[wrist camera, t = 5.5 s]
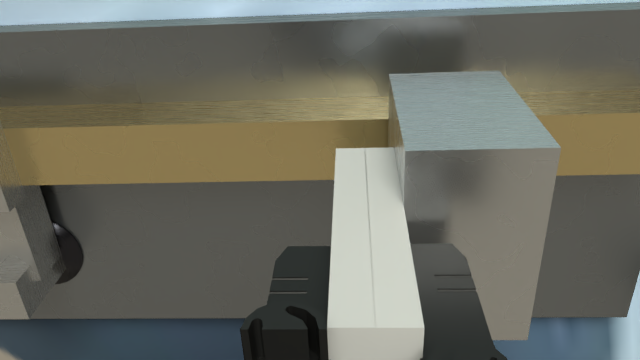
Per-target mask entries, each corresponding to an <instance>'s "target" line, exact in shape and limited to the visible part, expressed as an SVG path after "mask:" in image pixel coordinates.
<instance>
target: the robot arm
mask: <svg viewBox="0 0 640 360" xmlns="http://www.w3.org/2000/svg"><path fill="white" fill-rule="evenodd" d="M240 333H241V340H242V347H243V354H244V360H507V358H506V357H505V356H504V355H503V354H501V353H500V352H499V351H498V350H496V348H495V346H494V344H493V341H492V338H491V335H490V332H489V328H488V325H487V322H486V319H485V316H484V312H483V309H482V306H481V303H480V300H479V297H478V293H477V292H476V287H475V284H474V281H473V278H472V274H471V271H470V268H469V265H468V262H467V259H466V257H465V256H464V255H463V254H462V253H461V252H460V251H459V250H458V249H457V248H456V247H455V246H454V245H453V244H452V243H437V244H410V240H409V234H408V228H407V222H406V217H405V211H404V206H403V200H402V194H401V188H400V183H399V177H398V171H397V165H396V159H395V153H394V147H389V148H336V157H335V177H334V198H333V218H332V238H331V246H288V247H287V248H286V249H285V250H284V251H283V252H282V254H281V255H280V256H279V257H278V258H277V259H276V261H275V265H274V270H273V275H272V281H271V286H270V294H269V296H268V301H267V305H265V306H262V307H260V308H257V309H256V310H255V311H254V312H252V313H251V314H250V315H249V316H248V317H246V319H245V321H244V323H243V325H242V327H241V328H240Z"/></svg>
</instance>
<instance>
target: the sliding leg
mask: <svg viewBox="0 0 640 360" xmlns="http://www.w3.org/2000/svg"><path fill="white" fill-rule="evenodd" d="M389 147H394V153H395V159H396V165H397V171H398V177H399V183H400V188H401V194H402V200H403V206H404V211H405V217H406V222H407V228H408V234H409V240H410V244H437V243H452V244H453V245H454V246H455V247H456V248H457V249H458V250H459V251H460V252H461V253H462V254H463V255H464V256H465V257H466V259H467V262H468V265H469V268H470V271H471V274H472V278H473V281H474V284H475V287H476V292H477V293H478V297H479V300H480V303H481V306H482V309H483V312H484V316H485V319H486V322H487V325H488V328H489V332H490V335H491V338H492V340H527V339H528V334H529V328H530V322H531V317H532V311H533V305H534V300H535V294H536V288H537V282H538V277H539V271H540V265H541V260H542V254H543V248H544V243H545V237H546V231H547V226H548V220H549V214H550V209H551V203H552V197H553V191H554V186H555V180H556V174H557V169H558V163H559V157H560V152H561V147H560V145H559V144H558V143H557V142H556V141H555V139H554V138H553V137H552V136H551V134H550V133H549V132H548V131H547V129H546V128H545V127H544V126H543V124H542V123H541V122H540V121H539V119H538V118H537V117H536V116H535V114H534V113H533V112H532V111H531V109H530V108H529V107H528V106H527V104H526V103H525V102H524V101H523V99H522V98H521V97H520V96H519V94H518V93H517V92H516V91H515V89H514V88H513V87H512V86H511V84H510V83H509V82H508V81H507V80H506V78H505V77H504V76H503V75H502V73H501V72H500V71H471V72H438V73H404V74H389V109H388V148H389Z"/></svg>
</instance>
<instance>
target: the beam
mask: <svg viewBox="0 0 640 360" xmlns="http://www.w3.org/2000/svg"><path fill="white" fill-rule="evenodd" d="M518 94H519V96H520V97H521V98H522V99H523V101H524V102H525V103H526V104H527V106H528V107H529V108H530V109H531V111H532V112H533V113H534V114H535V116H536V117H537V118H538V119H539V121H540V122H541V123H542V124H543V126H544V127H545V128H546V129H547V131H548V132H549V133H550V134H551V136H552V137H553V138H554V139H555V141H556V142H557V143H558V144H559V145H560V147H561V152H560V157H559V163H558V169H557V174H556V176H566V175H620V174H640V89H627V90H591V91H555V92H518ZM388 109H389V96H373V97H337V98H301V99H264V100H228V101H192V102H156V103H119V104H83V105H47V106H10V107H0V319H30V317H31V316H32V315H33V313H34V312H35V311H36V309H37V308H38V306H39V305H40V304H41V302H42V301H43V300H44V298H45V297H46V296H47V294H48V293H49V291H50V290H51V289H52V287H53V286H54V285H55V283H56V282H57V281H58V279H59V278H60V276H61V275H62V274H63V272H64V271H65V270H66V266H65V263H64V260H63V257H62V254H61V251H60V248H59V245H58V241H57V238H56V235H55V232H54V229H53V226H52V223H51V220H50V217H49V214H48V211H47V208H46V204H45V201H44V198H43V195H42V192H41V189H40V186H39V185H75V184H130V183H184V182H239V181H293V180H334V177H335V157H336V148H388Z"/></svg>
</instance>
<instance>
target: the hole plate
mask: <svg viewBox="0 0 640 360" xmlns="http://www.w3.org/2000/svg"><path fill="white" fill-rule="evenodd" d="M471 71H500V72H501V73H502V75H503V76H504V77H505V78H506V80H507V81H508V82H509V83H510V84H511V86H512V87H513V88H514V89H515V91H516V92H517V93H518V92H555V91H591V90H627V89H640V2H634V3H607V4H580V5H553V6H526V7H499V8H472V9H445V10H418V11H391V12H364V13H337V14H310V15H283V16H255V17H228V18H201V19H174V20H147V21H120V22H93V23H66V24H39V25H12V26H0V107H10V106H47V105H83V104H119V103H156V102H192V101H228V100H264V99H301V98H337V97H373V96H389V74H404V73H438V72H471ZM39 186H40V189H41V192H42V195H43V198H44V201H45V204H46V208H47V211H48V214H49V217H50V220H51V223H52V226H53V229H54V232H55V235H56V238H57V241H58V245H59V248H60V251H61V254H62V257H63V260H64V263H65V266H66V270H65V271H64V272H63V274H62V275H61V276H60V278H59V279H58V281H57V282H56V283H55V285H54V286H53V287H52V289H51V290H50V291H49V293H48V294H47V296H46V297H45V298H44V300H43V301H42V302H41V304H40V305H39V306H38V308H37V309H36V311H35V312H34V313H33V315H32V316H31V317H30V319H130V318H246V317H248V316H249V315H250V314H251V313H252V312H254V311H255V310H256V309H257V308H260V307H262V306H265V305H267V301H268V296H269V294H270V286H271V281H272V275H273V270H274V265H275V261H276V259H277V258H278V257H279V256H280V255H281V254H282V252H283V251H284V250H285V249H286V248H287V247H288V246H331V238H332V218H333V198H334V180H293V181H239V182H184V183H130V184H75V185H39ZM639 271H640V174H620V175H566V176H556V180H555V186H554V191H553V197H552V203H551V209H550V214H549V220H548V226H547V231H546V237H545V243H544V248H543V254H542V260H541V265H540V271H539V277H538V282H537V288H536V294H535V300H534V305H533V311H532V317H627V314H628V310H629V307H630V303H631V299H632V296H633V292H634V289H635V285H636V282H637V278H638V275H639Z"/></svg>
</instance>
